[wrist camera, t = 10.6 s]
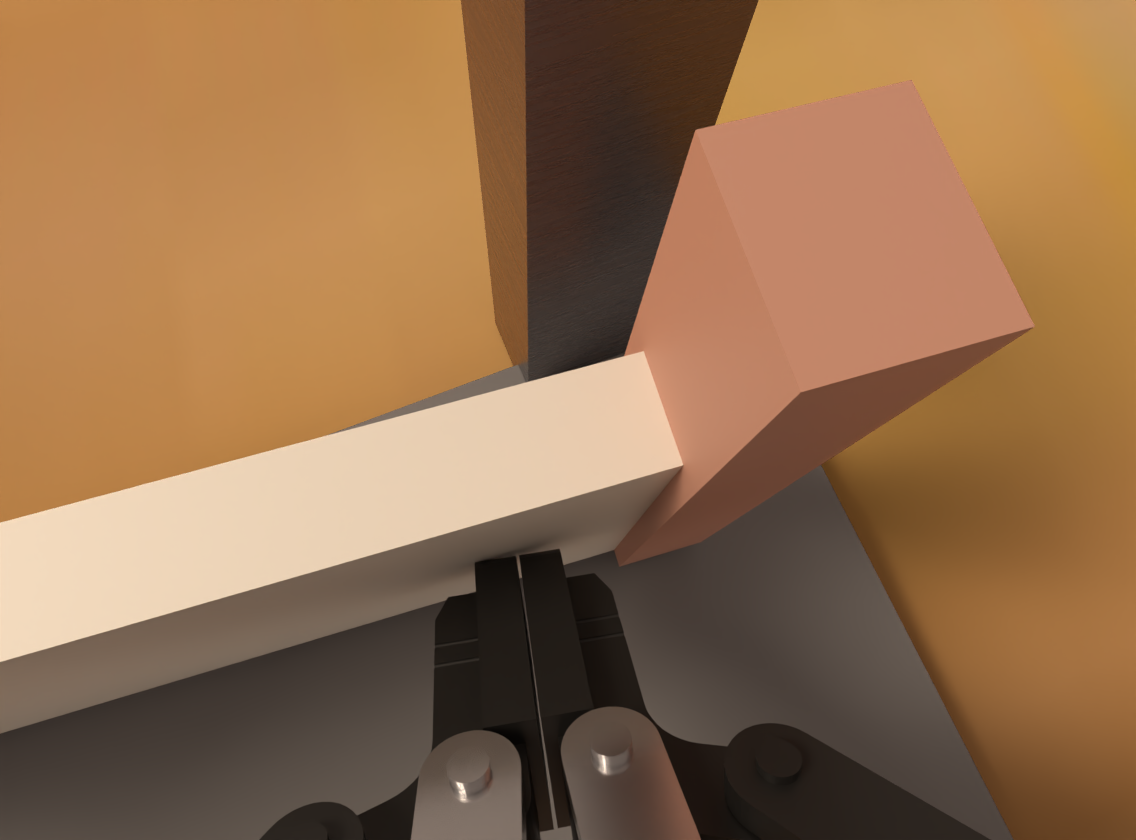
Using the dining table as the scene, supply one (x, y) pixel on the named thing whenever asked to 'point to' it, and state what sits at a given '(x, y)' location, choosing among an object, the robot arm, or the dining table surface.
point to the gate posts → (586, 156)
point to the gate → (550, 424)
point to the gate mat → (658, 651)
